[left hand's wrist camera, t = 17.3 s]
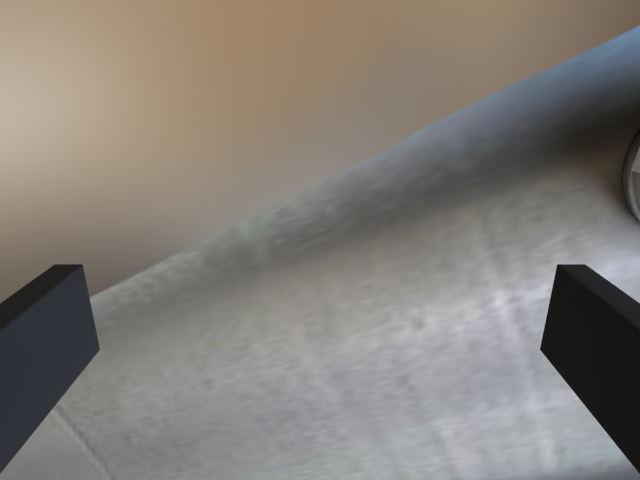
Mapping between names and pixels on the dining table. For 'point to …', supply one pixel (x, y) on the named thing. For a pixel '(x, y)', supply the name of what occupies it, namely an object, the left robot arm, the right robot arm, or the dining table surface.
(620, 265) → the dining table surface
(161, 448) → the dining table surface
